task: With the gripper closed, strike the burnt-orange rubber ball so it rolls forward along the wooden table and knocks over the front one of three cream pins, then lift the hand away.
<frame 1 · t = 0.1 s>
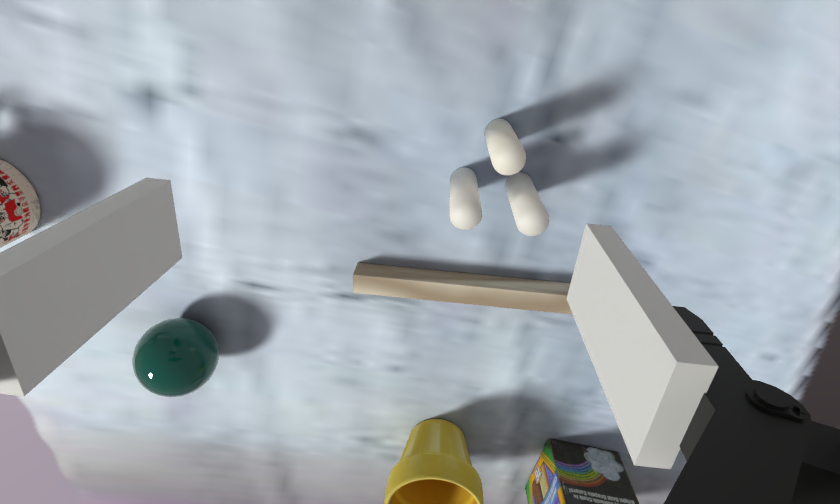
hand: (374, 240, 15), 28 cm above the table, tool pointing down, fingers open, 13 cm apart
plant pot: (436, 436, 58), on the table
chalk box: (571, 467, 58), on the table
pin 1: (463, 180, 43), on the table
sphere: (196, 332, 53), on the table
back wall: (476, 282, 47), on the table
pin 2: (518, 185, 43), on the table
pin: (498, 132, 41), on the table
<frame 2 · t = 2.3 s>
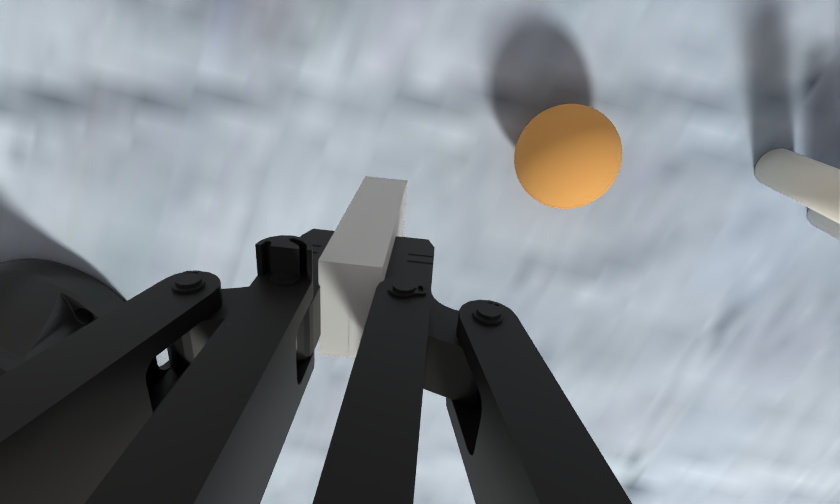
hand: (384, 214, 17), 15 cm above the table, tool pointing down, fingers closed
pin 1: (827, 210, 31), on the table
ball: (566, 157, 28), on the table
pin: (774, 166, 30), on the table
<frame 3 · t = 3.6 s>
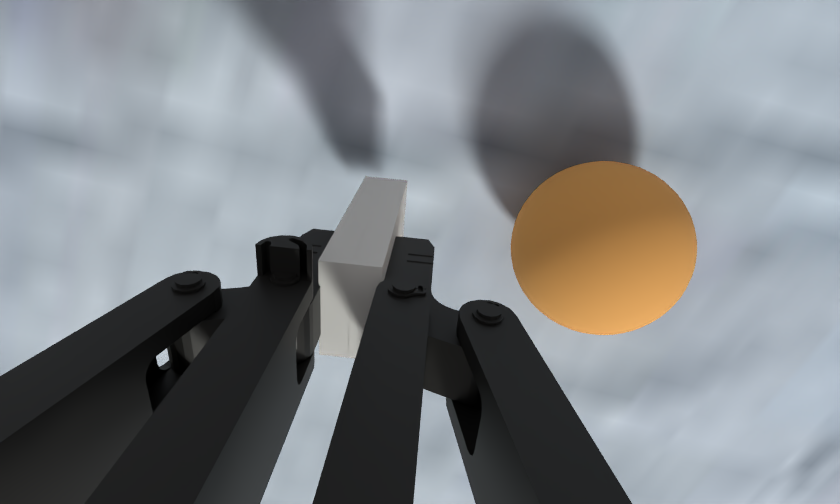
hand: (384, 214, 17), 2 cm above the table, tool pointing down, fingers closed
ball: (597, 248, 17), on the table
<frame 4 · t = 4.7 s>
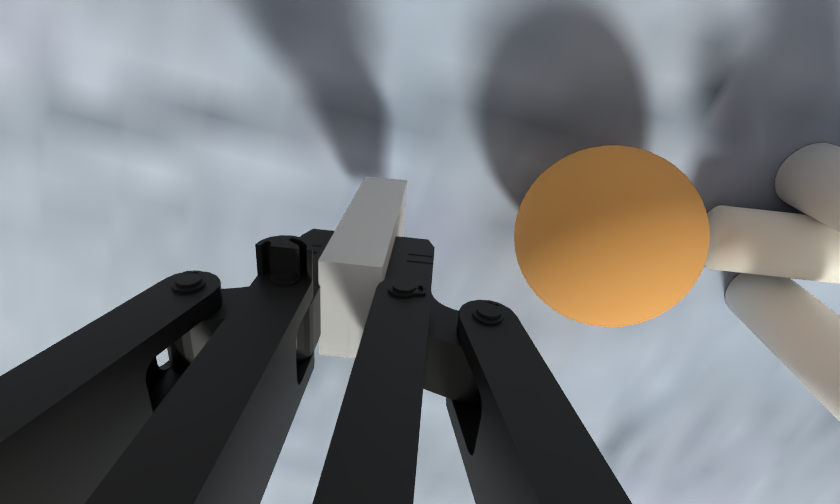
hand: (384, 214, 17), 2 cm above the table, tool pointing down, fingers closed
pin 1: (755, 291, 20), on the table
ball: (605, 236, 16), on the table
pin 2: (810, 175, 17), on the table
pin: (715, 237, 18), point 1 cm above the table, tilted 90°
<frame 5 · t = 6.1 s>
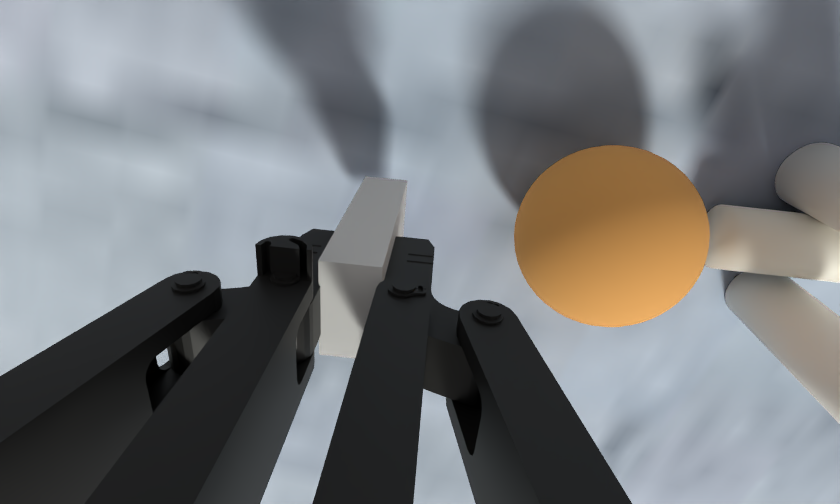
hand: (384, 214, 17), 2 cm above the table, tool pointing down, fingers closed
pin 1: (755, 291, 20), on the table
ball: (605, 236, 16), on the table
pin 2: (810, 174, 17), on the table
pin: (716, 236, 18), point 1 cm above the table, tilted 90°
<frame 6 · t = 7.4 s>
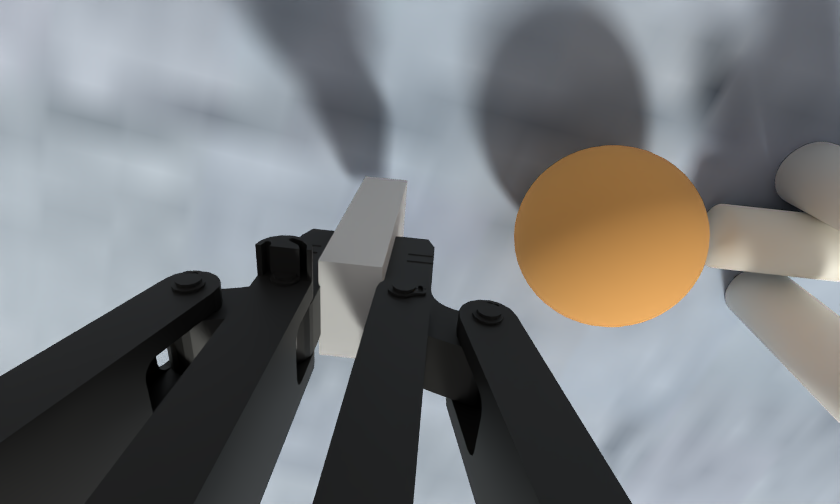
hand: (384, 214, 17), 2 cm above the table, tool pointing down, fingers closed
pin 1: (755, 291, 20), on the table
ball: (605, 236, 16), on the table
pin 2: (810, 174, 17), on the table
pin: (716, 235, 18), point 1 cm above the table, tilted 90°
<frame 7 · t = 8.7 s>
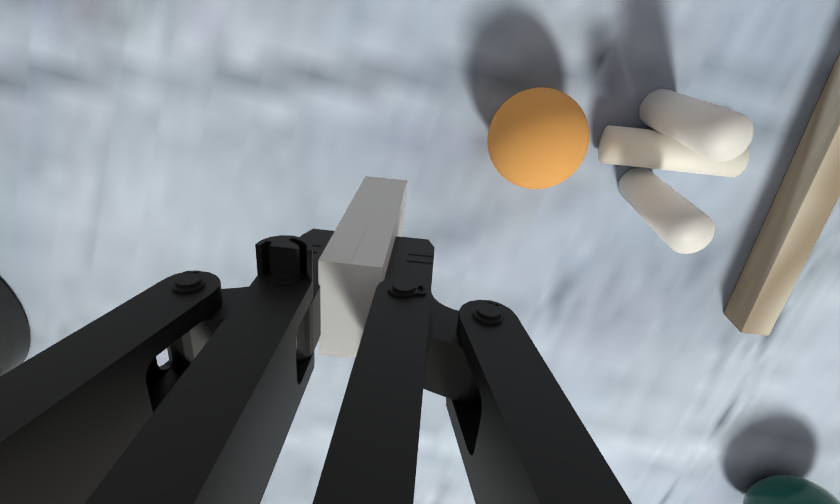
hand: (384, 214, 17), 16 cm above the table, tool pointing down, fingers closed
pin 1: (636, 184, 33), on the table
ball: (537, 139, 29), on the table
sphere: (768, 483, 45), on the table
back wall: (805, 164, 31), on the table
pin 2: (658, 108, 30), on the table
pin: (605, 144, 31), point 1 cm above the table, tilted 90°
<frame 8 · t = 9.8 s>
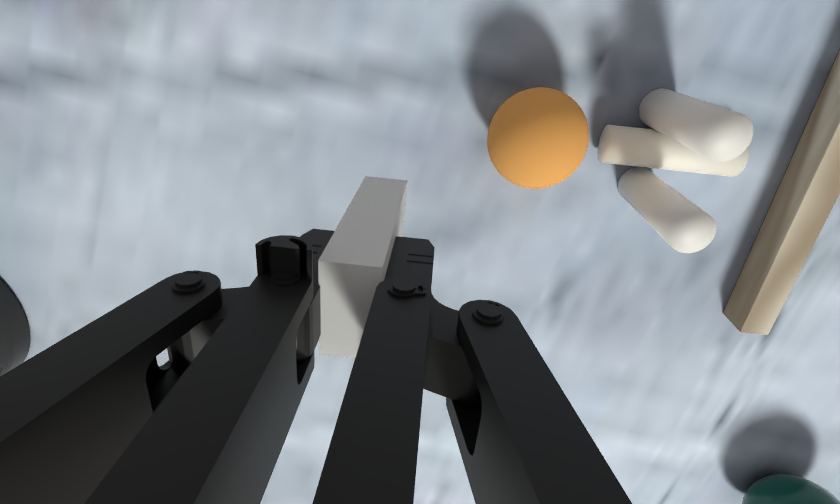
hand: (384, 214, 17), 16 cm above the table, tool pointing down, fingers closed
pin 1: (635, 183, 33), on the table
ball: (536, 139, 29), on the table
sphere: (767, 482, 45), on the table
back wall: (804, 164, 31), on the table
pin 2: (658, 107, 30), on the table
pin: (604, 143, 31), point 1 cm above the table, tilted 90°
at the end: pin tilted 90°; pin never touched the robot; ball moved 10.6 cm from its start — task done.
